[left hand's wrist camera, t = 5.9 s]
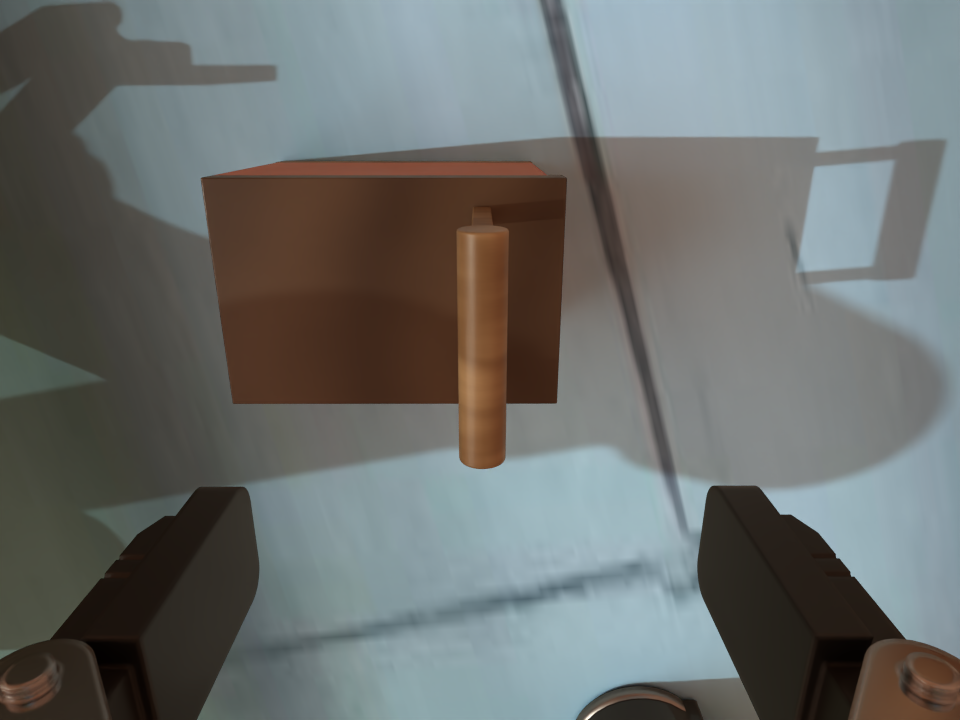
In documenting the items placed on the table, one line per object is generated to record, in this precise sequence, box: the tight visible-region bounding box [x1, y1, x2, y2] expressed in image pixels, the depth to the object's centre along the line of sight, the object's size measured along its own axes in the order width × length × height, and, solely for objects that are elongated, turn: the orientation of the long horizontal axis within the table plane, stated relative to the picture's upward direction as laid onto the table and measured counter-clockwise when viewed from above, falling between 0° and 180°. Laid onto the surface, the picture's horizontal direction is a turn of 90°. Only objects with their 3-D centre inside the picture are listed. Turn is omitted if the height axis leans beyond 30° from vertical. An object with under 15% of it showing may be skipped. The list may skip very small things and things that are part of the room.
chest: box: [218, 161, 546, 175], centre depth 32 cm, size 14×10×10 cm
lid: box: [201, 175, 567, 469], centre depth 24 cm, size 14×10×9 cm
